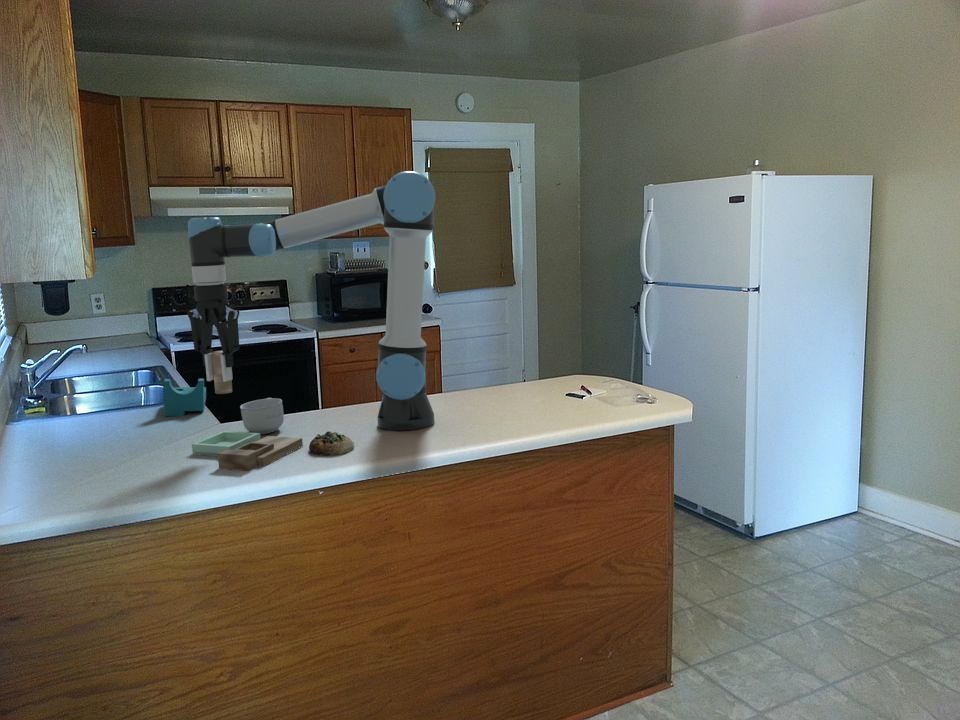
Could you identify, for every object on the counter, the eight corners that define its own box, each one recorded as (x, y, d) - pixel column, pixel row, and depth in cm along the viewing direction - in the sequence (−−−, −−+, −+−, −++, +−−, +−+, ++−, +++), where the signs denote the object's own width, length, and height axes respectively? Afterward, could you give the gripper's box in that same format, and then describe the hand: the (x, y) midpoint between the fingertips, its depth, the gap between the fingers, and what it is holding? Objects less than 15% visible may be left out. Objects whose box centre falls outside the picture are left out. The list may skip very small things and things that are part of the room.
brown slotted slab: (303, 448, 188) (301, 433, 188) (263, 468, 174) (262, 452, 173) (268, 445, 192) (267, 431, 191) (227, 465, 177) (225, 449, 177)
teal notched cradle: (203, 415, 228) (203, 380, 226) (164, 416, 225) (163, 381, 223) (206, 402, 245) (205, 370, 243) (169, 403, 242) (169, 370, 240)
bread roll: (299, 450, 184) (300, 430, 184) (337, 445, 193) (338, 426, 192) (326, 460, 177) (328, 439, 176) (364, 455, 185) (366, 435, 185)
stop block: (256, 466, 173) (255, 451, 173) (248, 470, 171) (247, 455, 170) (227, 464, 176) (225, 449, 176) (219, 468, 173) (217, 453, 173)
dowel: (235, 390, 189) (232, 350, 187) (225, 394, 185) (222, 353, 184) (222, 390, 190) (218, 350, 189) (211, 393, 186) (208, 352, 185)
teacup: (273, 437, 197) (270, 407, 196) (234, 437, 200) (231, 407, 198) (296, 423, 211) (294, 395, 209) (260, 423, 213) (257, 395, 212)
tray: (260, 442, 193) (260, 433, 192) (230, 456, 182) (229, 446, 181) (224, 440, 197) (223, 430, 196) (192, 454, 186) (191, 444, 185)
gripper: (250, 281, 183) (258, 378, 187) (191, 282, 188) (201, 376, 193) (229, 284, 176) (239, 384, 180) (170, 285, 181) (180, 382, 186)
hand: (219, 379), depth 186 cm, fingers closed on dowel, 4 cm apart
